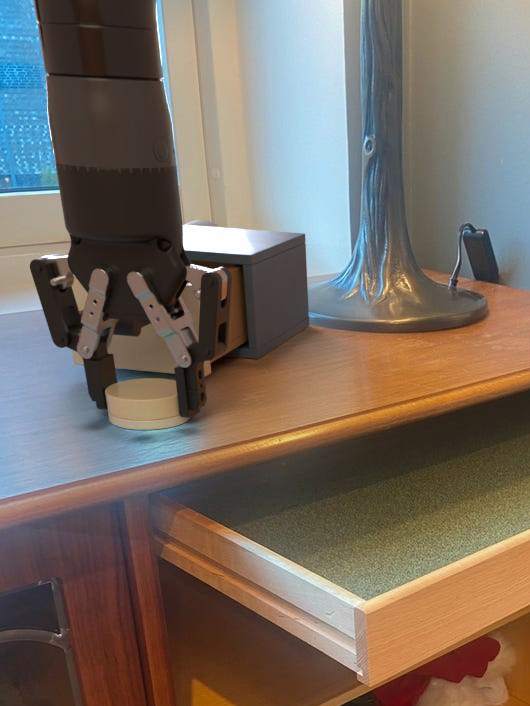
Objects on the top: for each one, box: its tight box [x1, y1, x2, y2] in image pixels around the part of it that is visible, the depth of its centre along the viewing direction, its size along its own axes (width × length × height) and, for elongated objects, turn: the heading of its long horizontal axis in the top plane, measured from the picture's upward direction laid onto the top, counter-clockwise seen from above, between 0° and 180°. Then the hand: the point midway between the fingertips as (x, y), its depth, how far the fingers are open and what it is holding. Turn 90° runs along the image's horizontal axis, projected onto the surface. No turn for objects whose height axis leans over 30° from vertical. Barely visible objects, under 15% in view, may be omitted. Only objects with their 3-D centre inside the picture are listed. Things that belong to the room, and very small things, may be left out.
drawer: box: [71, 261, 248, 377], centre depth 80 cm, size 19×12×7 cm, turn 171°
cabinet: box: [183, 224, 310, 360], centre depth 92 cm, size 15×13×9 cm
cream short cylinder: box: [105, 377, 191, 431], centre depth 71 cm, size 6×6×2 cm
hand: (149, 410), depth 71 cm, fingers closed on cream short cylinder, 6 cm apart
